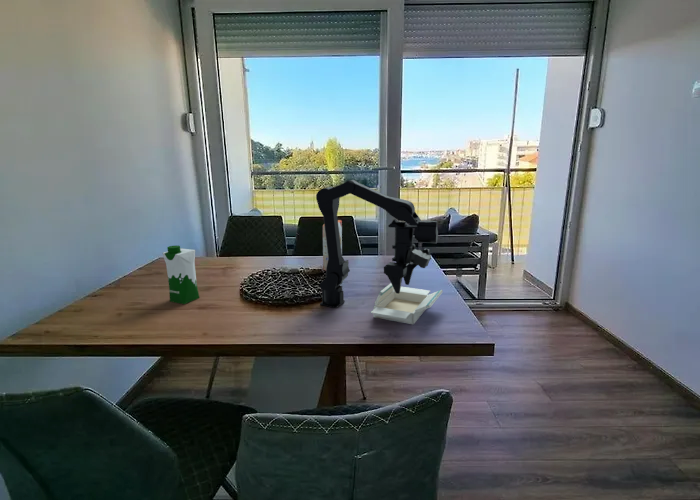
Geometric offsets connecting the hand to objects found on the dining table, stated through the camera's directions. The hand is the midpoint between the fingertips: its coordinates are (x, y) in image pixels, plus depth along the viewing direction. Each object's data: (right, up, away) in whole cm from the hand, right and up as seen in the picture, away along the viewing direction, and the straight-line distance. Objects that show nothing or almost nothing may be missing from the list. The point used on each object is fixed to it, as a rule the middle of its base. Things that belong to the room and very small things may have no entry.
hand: (402, 288), depth 127 cm
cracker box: (-25, +4, +53) cm, 59 cm away
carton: (0, -7, +2) cm, 8 cm away
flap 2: (+6, -4, -2) cm, 8 cm away
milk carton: (-76, -6, +15) cm, 78 cm away
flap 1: (-6, -3, +4) cm, 7 cm away
